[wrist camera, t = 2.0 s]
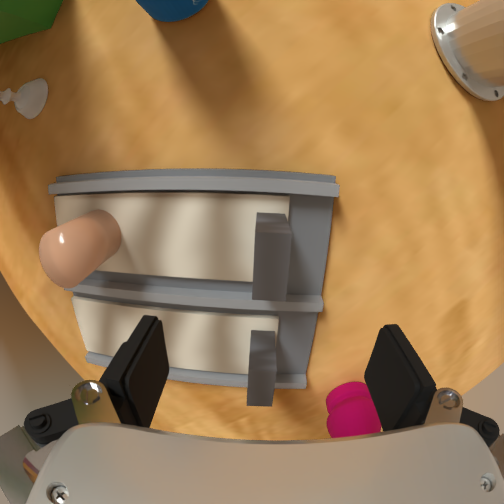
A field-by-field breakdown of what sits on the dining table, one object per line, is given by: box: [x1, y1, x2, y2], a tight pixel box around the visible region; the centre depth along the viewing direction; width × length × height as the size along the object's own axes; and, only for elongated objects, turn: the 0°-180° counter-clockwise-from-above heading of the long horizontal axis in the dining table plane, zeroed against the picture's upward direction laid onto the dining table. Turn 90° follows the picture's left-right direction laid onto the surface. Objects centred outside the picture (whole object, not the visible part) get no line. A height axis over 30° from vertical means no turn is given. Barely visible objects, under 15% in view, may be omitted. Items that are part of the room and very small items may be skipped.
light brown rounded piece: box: [39, 209, 121, 288], centre depth 22 cm, size 5×5×7 cm
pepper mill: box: [326, 382, 382, 438], centre depth 24 cm, size 7×7×20 cm
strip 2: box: [71, 296, 279, 407], centre depth 27 cm, size 24×8×7 cm, turn 87°
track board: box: [48, 169, 340, 389], centre depth 27 cm, size 28×24×2 cm
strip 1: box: [54, 192, 292, 301], centre depth 22 cm, size 24×8×7 cm, turn 87°
